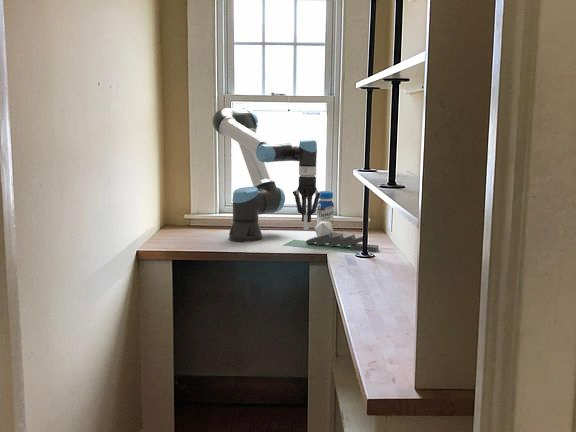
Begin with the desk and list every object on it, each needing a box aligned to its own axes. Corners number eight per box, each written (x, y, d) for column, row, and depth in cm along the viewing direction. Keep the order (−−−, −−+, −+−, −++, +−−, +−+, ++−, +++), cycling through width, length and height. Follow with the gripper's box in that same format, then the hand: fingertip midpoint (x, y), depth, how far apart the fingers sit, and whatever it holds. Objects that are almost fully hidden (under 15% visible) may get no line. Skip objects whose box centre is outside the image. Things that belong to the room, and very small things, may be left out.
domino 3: (328, 243, 257) (351, 236, 252) (331, 241, 261) (354, 234, 257) (329, 247, 257) (352, 240, 252) (332, 244, 261) (355, 238, 257)
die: (336, 238, 279) (328, 221, 283) (336, 233, 271) (328, 214, 274) (320, 245, 279) (312, 227, 282) (319, 239, 271) (312, 221, 274)
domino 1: (305, 240, 260) (328, 234, 256) (309, 238, 265) (331, 232, 260) (307, 244, 260) (329, 238, 256) (310, 242, 265) (333, 236, 261)
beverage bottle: (332, 230, 295) (333, 190, 292) (334, 234, 287) (335, 193, 283) (315, 230, 294) (316, 190, 291) (317, 234, 286) (318, 193, 283)
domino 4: (339, 244, 255) (362, 237, 250) (342, 241, 259) (365, 234, 255) (340, 248, 255) (364, 241, 250) (344, 245, 259) (367, 238, 255)
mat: (281, 246, 258) (281, 245, 258) (293, 240, 271) (293, 239, 271) (357, 254, 246) (357, 253, 246) (366, 247, 259) (366, 246, 259)
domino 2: (316, 242, 259) (339, 235, 254) (319, 239, 263) (342, 233, 259) (317, 246, 259) (340, 239, 254) (321, 243, 263) (343, 237, 259)
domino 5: (350, 245, 253) (375, 247, 249) (353, 243, 258) (378, 245, 253) (350, 249, 253) (375, 252, 249) (353, 247, 258) (378, 249, 254)
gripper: (290, 175, 257) (289, 229, 261) (318, 177, 252) (317, 231, 256) (296, 174, 264) (295, 226, 268) (324, 175, 259) (322, 228, 263)
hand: (306, 229), depth 262 cm, fingers closed
